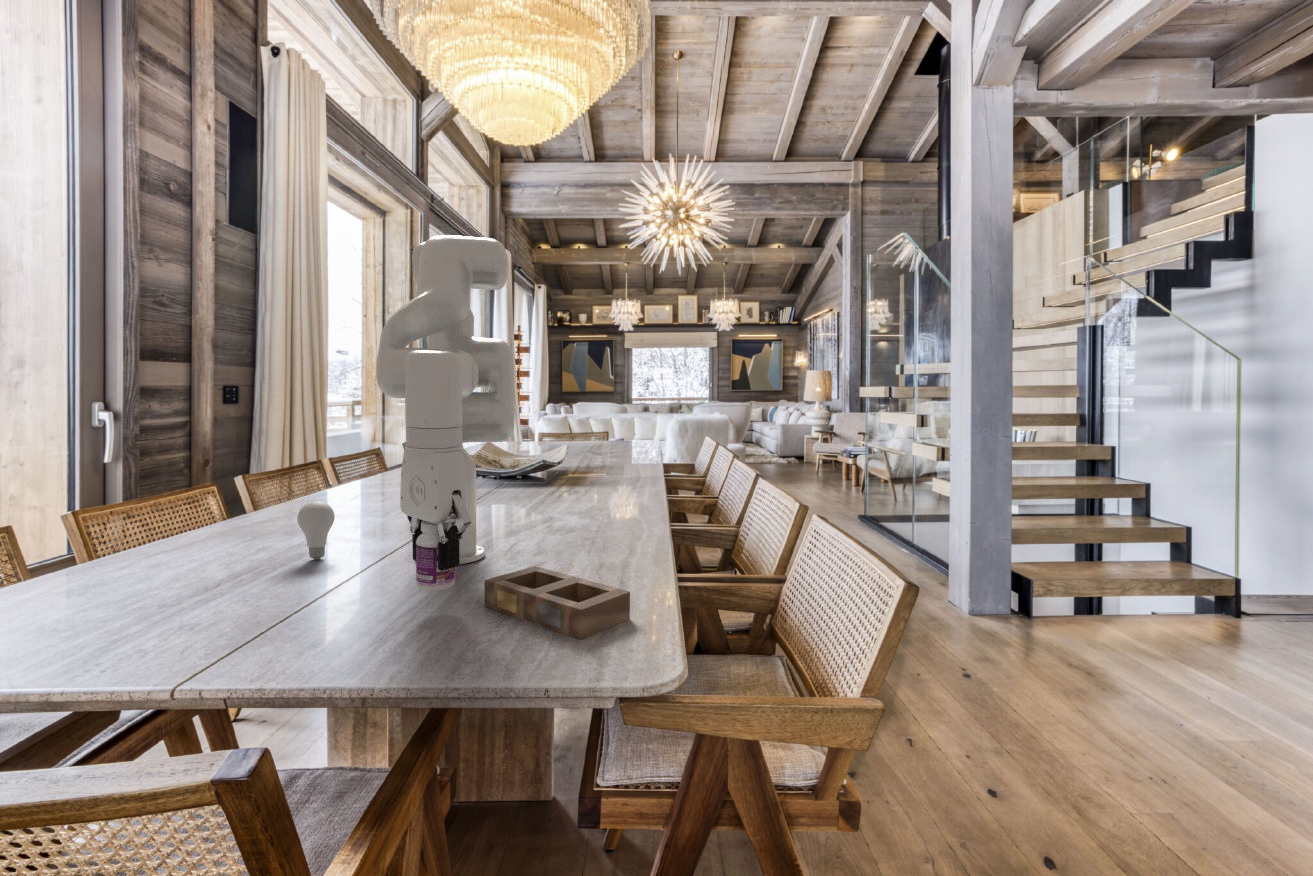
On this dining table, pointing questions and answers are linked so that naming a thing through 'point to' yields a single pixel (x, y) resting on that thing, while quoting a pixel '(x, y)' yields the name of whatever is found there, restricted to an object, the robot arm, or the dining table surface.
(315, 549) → the lightbulb
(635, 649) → the dining table surface
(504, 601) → the socket block
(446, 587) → the pill bottle
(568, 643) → the dining table surface
